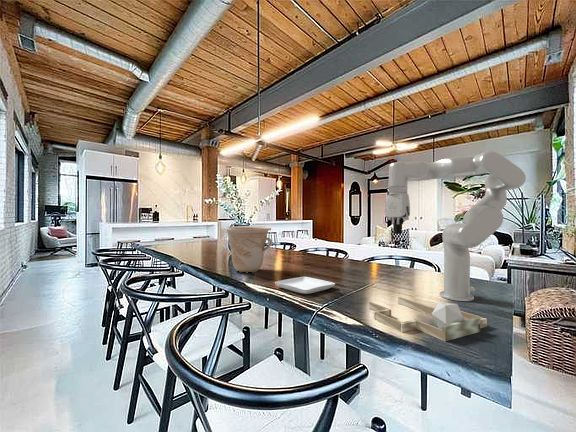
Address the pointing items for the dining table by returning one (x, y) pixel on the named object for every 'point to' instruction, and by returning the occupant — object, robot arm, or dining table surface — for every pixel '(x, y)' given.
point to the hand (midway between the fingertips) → (397, 233)
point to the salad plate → (305, 285)
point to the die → (447, 314)
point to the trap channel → (445, 334)
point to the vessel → (248, 246)
